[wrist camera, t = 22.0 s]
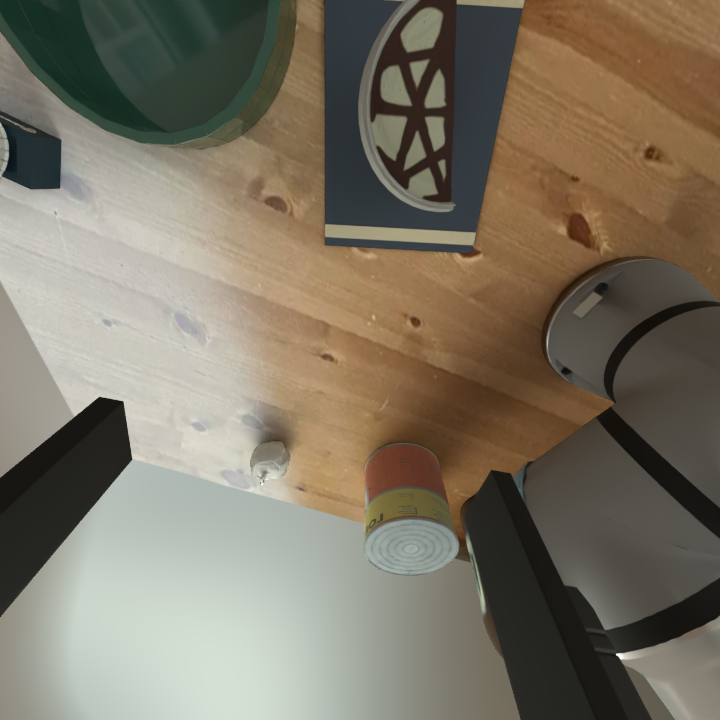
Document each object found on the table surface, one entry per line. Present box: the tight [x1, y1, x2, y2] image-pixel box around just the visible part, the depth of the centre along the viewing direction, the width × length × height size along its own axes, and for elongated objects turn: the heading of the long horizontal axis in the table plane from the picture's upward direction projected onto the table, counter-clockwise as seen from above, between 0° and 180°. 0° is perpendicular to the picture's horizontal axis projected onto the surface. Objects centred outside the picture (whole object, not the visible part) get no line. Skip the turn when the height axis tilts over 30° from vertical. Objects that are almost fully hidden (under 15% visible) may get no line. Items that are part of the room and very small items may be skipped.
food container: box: [358, 0, 457, 212], centre depth 24 cm, size 12×6×10 cm, turn 6°
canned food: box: [363, 443, 459, 576], centre depth 44 cm, size 11×11×12 cm
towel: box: [325, 0, 525, 253], centre depth 29 cm, size 15×20×1 cm
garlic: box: [250, 441, 290, 484], centre depth 46 cm, size 6×5×5 cm
